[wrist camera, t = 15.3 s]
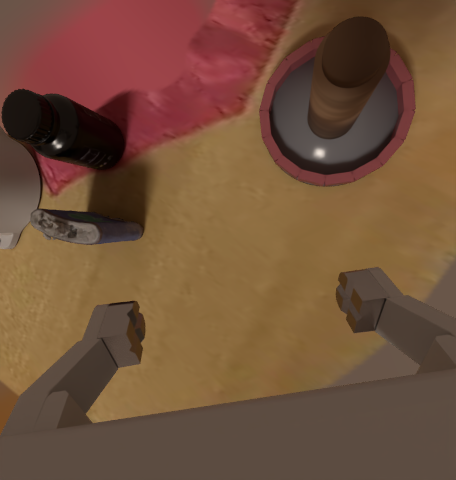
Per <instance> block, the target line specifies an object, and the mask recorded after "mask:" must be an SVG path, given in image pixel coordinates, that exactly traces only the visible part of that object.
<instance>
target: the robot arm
mask: <svg viewBox="0 0 456 480" xmlns="http://www.w3.org/2000/svg"><path fill="white" fill-rule="evenodd" d="M39 199H40V177H39V172H38V169H37V166H36V164H35V161H34V159H33V158H32V156H31V155H30V153H29V152H28V151H27V149H26V148H25V147H24V146H22V145H21V144H20V143H18V142H17V141H15V140H13V139H11V138H10V137H8V136H7V135H6V133H5V132H4V130H3V129H2V128H1V127H0V248H1V249H12V248H14V247H15V246H16V244H17V241H18V239H19V236H20V233H21V231H22V230H23V228H24V227H25V226H26V225H27V224H28V223H29V222H30V218H31V213H32V212H33V211H34V210H36V209H37V207H38V203H39ZM338 281H339V282H340V285H339V286H338V287H337V288H336V300H337V303H338V306H339V308H340V310H341V311H343V312H344V313H346V314H347V317H346V320H347V322H348V324H349V326H350V327H351V329H352V331H353V333H359V332H368V331H375V332H376V333H378V334H379V335H380V336H382V337H383V338H384V339H386V340H387V341H388V342H390V343H391V344H392V345H394V346H395V347H396V348H398V349H399V350H401V351H402V352H403V353H404V354H406V355H407V356H408V357H410V358H411V359H412V360H414V361H415V362H416V363H418V364H419V365H420V367H419V369H418V371H417V373H416V374H415V375H409V376H403V377H396V378H389V379H382V380H376V381H369V382H362V383H356V384H349V385H343V386H336V387H329V388H323V389H316V390H309V391H303V392H296V393H290V394H283V395H276V396H270V397H263V398H257V399H250V400H244V401H237V402H230V403H224V404H217V405H211V406H204V407H198V408H191V409H184V410H178V411H171V412H164V413H158V414H151V415H145V416H138V417H131V418H125V419H118V420H111V421H105V422H98V423H92V422H91V420H90V419H89V418H88V417H87V415H86V413H87V411H88V410H89V409H90V407H91V406H92V404H93V403H94V402H95V400H96V399H97V398H98V396H99V395H100V393H101V392H102V391H103V389H104V388H105V386H106V385H107V384H108V382H109V381H110V380H111V378H112V377H113V375H114V374H115V373H116V371H117V370H118V368H120V367H125V366H131V365H137V364H140V362H141V357H142V351H143V347H142V345H141V342H142V341H143V339H144V338H145V320H144V317H143V315H142V314H141V313H139V308H140V307H139V304H138V302H137V301H129V302H120V303H111V304H104V305H97V306H96V307H95V308H94V310H93V313H92V315H91V318H90V321H89V323H88V326H87V329H86V331H85V334H84V337H83V339H82V341H79V342H77V343H76V344H75V345H74V346H73V347H72V348H71V349H69V350H68V351H67V352H66V353H65V354H64V355H63V356H62V357H61V358H60V359H59V360H58V361H57V362H56V363H55V364H53V365H52V366H51V367H50V368H49V369H48V370H47V371H46V372H45V373H44V374H43V375H42V376H41V377H40V378H38V379H37V380H36V381H35V382H34V383H33V384H32V385H31V386H30V387H29V388H28V389H27V390H26V391H25V392H23V393H22V394H21V395H20V397H19V399H18V401H17V403H16V405H15V407H14V409H13V411H12V413H11V415H10V417H9V419H8V421H7V423H6V425H5V427H4V429H3V431H2V433H1V435H0V480H456V318H454V317H451V316H449V315H447V314H445V313H443V312H441V311H439V310H437V309H435V308H433V307H431V306H429V305H427V304H425V303H423V302H421V301H418V300H416V299H414V298H412V297H410V296H408V295H406V296H404V295H403V294H402V293H401V292H400V290H399V289H398V288H397V287H396V286H395V285H394V283H393V282H392V281H391V280H390V279H389V278H388V276H387V275H386V274H385V273H384V272H383V271H382V269H381V268H379V267H375V268H368V269H362V270H355V271H348V272H341V273H340V274H339V278H338Z"/></svg>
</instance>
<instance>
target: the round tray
mask: <svg viewBox="0 0 456 480" xmlns="http://www.w3.org/2000/svg"><path fill="white" fill-rule="evenodd" d="M324 38H325V36H324V37H320V38H316V39H312V43H311V41H308V42H307V43H306V44H304V45H303V46H301V47H300V48H298V49H297V50H295V51H294V52H292V53H291V54H290V55H288V56H287V57H286V59H284V60H283V61H282V62H281V64H280V65H279V67H278V68H277V69H276V71H275V72H274V74H273V75H272V76H271V78H270V79H269V80H268V83H267V84H266V88H265V92H264V95H263V99H262V102H261V106H260V109H259V110H260V111H259V113H260V123H261V133H262V139H263V141H264V144H265V145H266V147H267V149H268V151H269V153H270V155H271V157H272V158H273V160H274V162H275V163H276V164H277V165H278V166H279V167H280V168H281V169H282V170H283V171H284V172H285V173H286V174H288V175H289V176H291V177H293V178H294V179H296V180H298V181H301V182H303V183H306V184H310V185H315V186H324V187H325V186H326V187H328V186H338V185H343V184H347V183H352V182H355V181H356V180H358V179H360V178H362V177H364V176H366V175H367V174H369V173H371V172H373V171H375V170H377V169H378V168H380V167H382V166H383V165H384V164H385V163H386V162H387V161H388V160H389V158H390V157H391V156H392V155H393V154H394V153H395V152H396V150H397V149H398V148H399V147H400V146H401V145H402V143H403V142H404V140H405V139H406V136H407V133H408V131H409V128H410V125H411V122H412V119H413V116H414V113H415V111H414V110H415V109H416V108H415V95H414V83H413V80H411V79H412V76H411V74H410V73H409V71H408V69H407V68H406V66H405V64H404V63H403V61H402V59H401V57H400V56H399V54H397V55H396V53H397V52H396V51H394V50H393V49H391V48H390V51H391V55H390V61H389V65H388V68H387V70H386V72H385V74H384V75H383V77H382V79H381V80H380V82H379V83H378V85H377V87H376V88H375V90H374V92H373V93H372V95H371V97H370V98H369V100H368V101H367V103H366V105H365V106H364V108H363V110H362V111H361V113H360V115H359V116H358V118H357V120H356V121H355V123H354V124H353V126H352V128H351V129H350V130H349V131H348V132H347V133H346V134H345V135H343V136H341V137H339V138H336V139H322V138H320V137H318V136H316V135H315V134H314V133H313V132H312V131H311V129H310V128H309V125H308V121H307V116H308V108H309V100H310V92H311V84H312V76H313V68H314V61H315V55H316V52H317V49H318V47H319V45H320V43H321V42H322V40H323V39H324Z"/></svg>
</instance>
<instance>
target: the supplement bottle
mask: <svg viewBox="0 0 456 480" xmlns="http://www.w3.org/2000/svg"><path fill="white" fill-rule="evenodd" d="M2 122H3V124H4V128H5V129H6V131H7V132H8V134H9V135H11V137H13V138H15V139H16V140H19V141H23V142H26V143H28V144H31V146H32V147H33V148H34V149H35V150H36V151H37V152H38V153H39V154H41V155H42V156H44V157H47V158H50V159H54V160H58V161H62V162H66V163H71V164H75V165H79V166H83V167H88V168H92V169H97V170H106V169H109V168H111V167H113V166H114V165H115V164H116V163H117V162H118V161H119V160H120V158H121V156H122V154H123V150H124V139H123V135H122V133H121V131H120V129H119V128H118V126H117V125H116V124H115V123H114V122H112V121H111V120H109V119H107V118H105V117H103V116H101V115H99V114H98V113H96V112H94V111H92V110H90V109H88V108H86V107H84V106H82V105H80V104H78V103H76V102H75V101H73V100H71V99H69V98H67V97H64V96H62V95H59V94H46V95H43V96H42V95H40V94H36V93H34V92H32V91H29V90H25V89H18V90H15V91H14V92H12V93H11V94H10V95H8V97H7V98H6V100H5V102H4V105H3V107H2Z"/></svg>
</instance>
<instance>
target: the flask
mask: <svg viewBox="0 0 456 480" xmlns="http://www.w3.org/2000/svg"><path fill="white" fill-rule="evenodd" d="M30 220H31V224H32V226H33V227H34V228H36V229H37V230H39V231H41V232H43V233H44V234H43V236H44V237H45V238H46V239H48V240H51V237H53V240H55V239H59V240H63V241H67V242H71V243H77V244H86V245H92V244H102V243H111V242H119V241H130V240H132V241H134V240H137V239H139V238H141V237H142V236H141V235H143V234H142V233H143V227H142V226H141V225H140V224H138V223H135V222H133V221H131V222H127V221H124V220H123V219H120V218H115V219H114V218H112V219H111V218H109V216H103V215H101V214H98V213H95V212H78V211H63V210H48V209H36V210H34V211H33V212H32V213H31V218H30ZM46 234H47V235H46ZM48 235H49V236H48ZM50 236H51V237H50Z"/></svg>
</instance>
